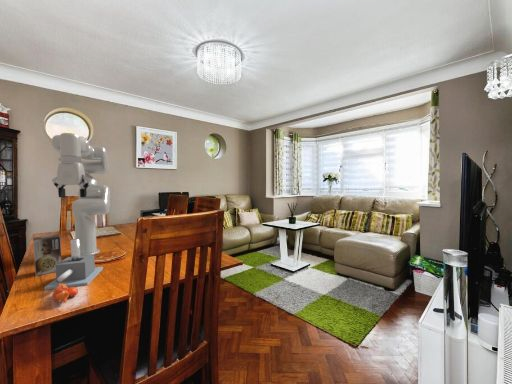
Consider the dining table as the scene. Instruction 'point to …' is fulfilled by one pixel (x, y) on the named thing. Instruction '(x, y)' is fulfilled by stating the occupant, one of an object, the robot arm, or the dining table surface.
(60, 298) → the orange toy bird
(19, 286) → the dining table surface
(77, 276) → the grey socket block
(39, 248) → the coffee box
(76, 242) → the key peg
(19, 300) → the dining table surface
